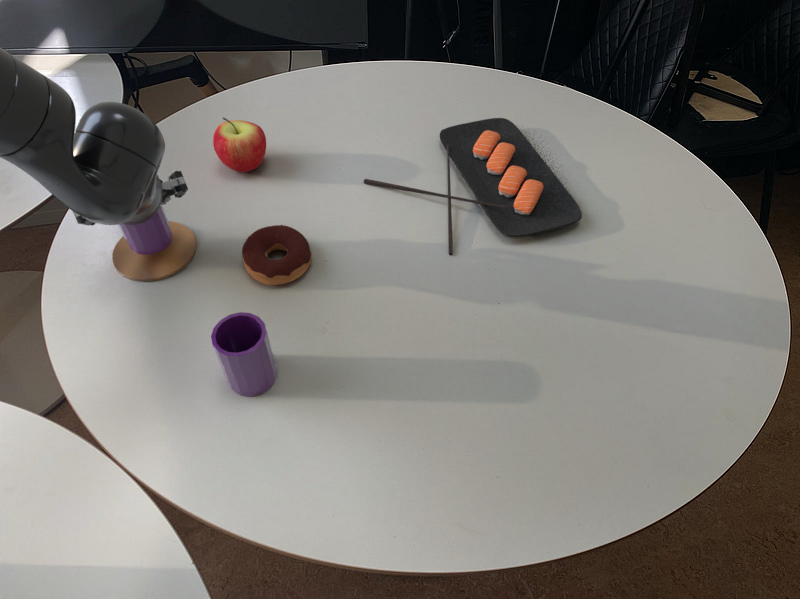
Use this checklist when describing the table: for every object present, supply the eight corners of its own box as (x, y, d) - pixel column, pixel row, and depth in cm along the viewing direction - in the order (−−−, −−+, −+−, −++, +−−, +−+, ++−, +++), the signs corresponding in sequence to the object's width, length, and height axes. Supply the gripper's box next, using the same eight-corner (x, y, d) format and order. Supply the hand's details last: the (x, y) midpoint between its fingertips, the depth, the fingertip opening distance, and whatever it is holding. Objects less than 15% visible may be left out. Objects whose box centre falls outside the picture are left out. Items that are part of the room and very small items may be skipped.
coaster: (114, 289, 85) (113, 287, 84) (112, 232, 92) (110, 230, 91) (201, 270, 87) (200, 268, 87) (192, 216, 94) (191, 213, 94)
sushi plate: (586, 227, 94) (593, 209, 91) (406, 273, 87) (407, 255, 84) (506, 123, 111) (509, 105, 108) (350, 155, 104) (349, 136, 101)
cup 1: (130, 259, 85) (106, 211, 78) (127, 230, 89) (105, 182, 82) (174, 249, 86) (155, 202, 79) (170, 221, 90) (152, 173, 83)
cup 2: (231, 402, 74) (215, 362, 67) (224, 361, 77) (207, 319, 70) (281, 388, 75) (270, 347, 68) (272, 349, 79) (260, 306, 72)
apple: (214, 158, 103) (200, 107, 96) (261, 145, 106) (251, 94, 98) (228, 187, 99) (214, 135, 91) (277, 172, 101) (267, 121, 93)
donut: (313, 286, 85) (310, 267, 82) (243, 292, 85) (238, 273, 82) (311, 236, 92) (308, 217, 89) (246, 241, 91) (241, 222, 88)
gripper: (175, 139, 70) (176, 164, 86) (45, 176, 66) (71, 195, 81) (200, 200, 71) (196, 214, 87) (74, 241, 67) (94, 247, 83)
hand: (136, 205), depth 84 cm, fingers closed on cup 1, 6 cm apart
